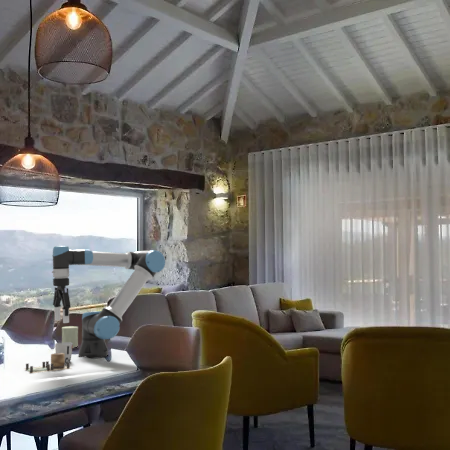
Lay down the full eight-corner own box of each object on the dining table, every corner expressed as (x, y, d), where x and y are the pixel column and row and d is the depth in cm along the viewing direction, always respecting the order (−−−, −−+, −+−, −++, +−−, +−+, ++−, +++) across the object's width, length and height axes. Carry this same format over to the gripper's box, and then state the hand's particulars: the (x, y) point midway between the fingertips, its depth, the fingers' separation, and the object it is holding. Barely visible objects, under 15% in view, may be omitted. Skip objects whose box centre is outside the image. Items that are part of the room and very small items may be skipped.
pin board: (63, 366, 265) (63, 358, 265) (71, 371, 254) (71, 362, 254) (23, 371, 255) (23, 363, 255) (31, 376, 244) (31, 367, 244)
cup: (67, 366, 266) (67, 345, 266) (51, 365, 267) (52, 344, 268) (75, 363, 274) (75, 342, 274) (60, 362, 275) (60, 342, 276)
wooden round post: (62, 365, 261) (62, 352, 262) (66, 367, 256) (66, 354, 256) (49, 367, 258) (49, 353, 258) (53, 369, 253) (53, 355, 253)
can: (81, 347, 323) (81, 326, 324) (67, 349, 316) (67, 327, 317) (72, 345, 329) (72, 325, 330) (58, 347, 322) (58, 326, 323)
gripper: (46, 277, 280) (46, 320, 280) (61, 278, 260) (61, 324, 259) (61, 276, 285) (61, 318, 284) (77, 277, 264) (77, 323, 263)
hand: (61, 321), depth 271 cm, fingers open, 13 cm apart
